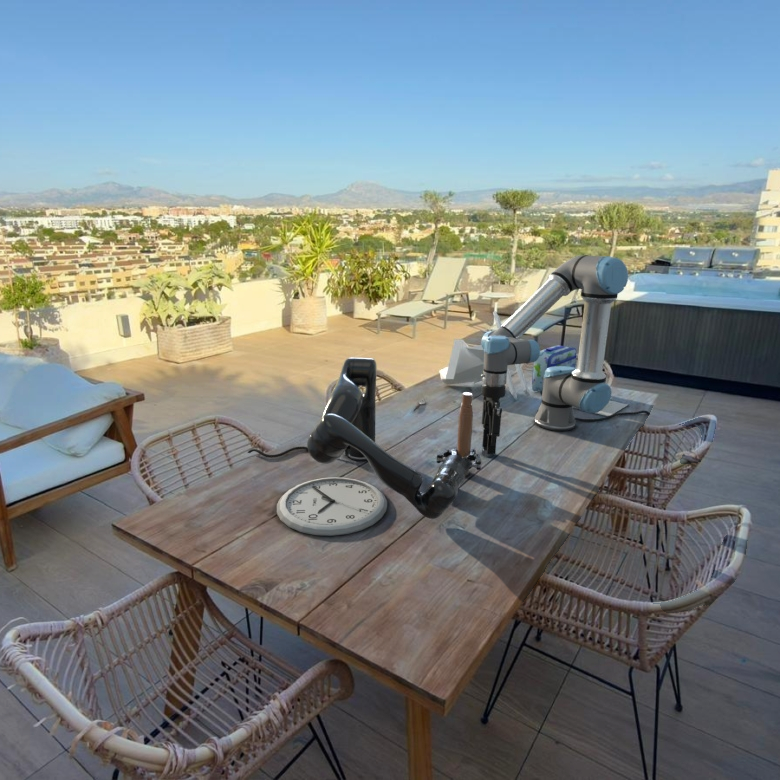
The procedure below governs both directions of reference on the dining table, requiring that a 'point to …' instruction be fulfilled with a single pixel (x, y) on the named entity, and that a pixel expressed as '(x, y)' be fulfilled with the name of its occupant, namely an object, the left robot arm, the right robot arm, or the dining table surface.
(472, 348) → the white plastic object
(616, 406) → the invitation card
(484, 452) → the cap
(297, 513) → the wall clock
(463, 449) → the ringed wooden cylinder
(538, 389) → the lunch box
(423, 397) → the fork
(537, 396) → the dining table surface
